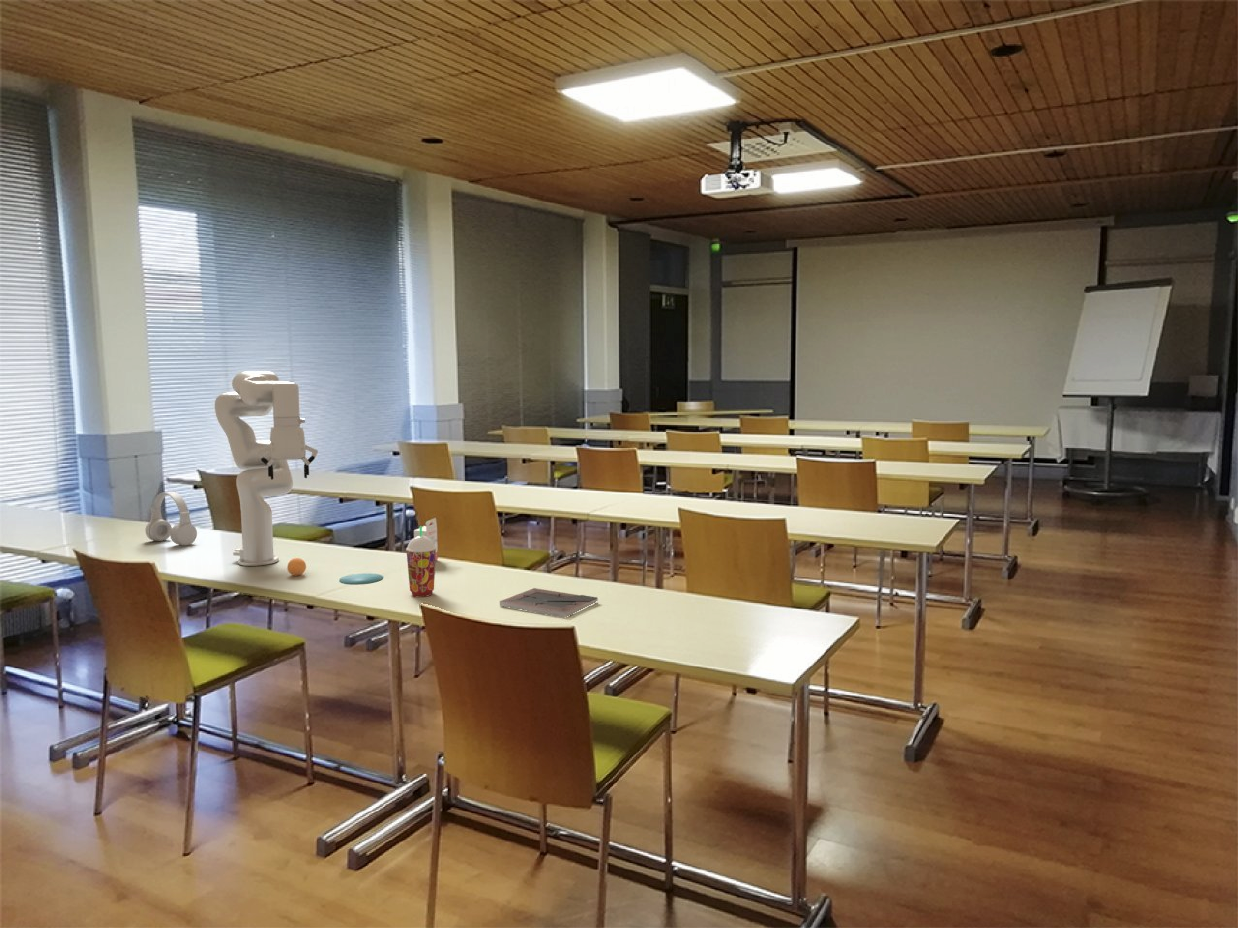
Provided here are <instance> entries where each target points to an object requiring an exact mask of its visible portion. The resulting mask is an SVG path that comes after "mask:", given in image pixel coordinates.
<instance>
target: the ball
mask: <svg viewBox="0 0 1238 928" xmlns="http://www.w3.org/2000/svg"><path fill="white" fill-rule="evenodd" d="M306 564H307V563H306V562H305V560H303V559H302V558H300V557H296V558H292V559H291V560H290V561H289V562H288V563H287V571H288V573H290V575H292V576H293V577H294V576H295V577H296V576H301V575H303V574H304V573H305V571H306V568H307V565H306Z"/></svg>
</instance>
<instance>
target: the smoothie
mask: <svg viewBox="0 0 1238 928" xmlns="http://www.w3.org/2000/svg"><path fill="white" fill-rule="evenodd" d="M422 527H423V526H422V525H420V526H419V528H420V536H417V537H414V536H413V538H412V539H411V540H410V541H409V543H408V544H407V547H406V548H405V550H406V560H407V570H408V571H407V572H408V581H409V582H408V584H409V591H410V592H411V595H412V596H414V597H416V596H424V597H428V596H427V595H429V596H431V595H432V594H433V591H434V590H435V575H436V561H435V555H436V547H435V546H434V543H433V542H432V540H431V539H430V538H428V537H426V536H423V535H422ZM430 594H431V595H430Z"/></svg>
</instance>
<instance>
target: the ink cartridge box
mask: <svg viewBox="0 0 1238 928" xmlns="http://www.w3.org/2000/svg"><path fill="white" fill-rule="evenodd" d="M431 523H432V524H431ZM430 524H431V525H430ZM437 525H438V524H437V518H436V517H434V518H432V519H430V520H429V519H428V520H427V521H426V522H425V525H423V526H422V535H423V536H426V537H428V538H430V539H431V540H432V542H433V543H434V546H435V547H436V555H435V562H436V561H438V559H439V558H438V557H439V555H438V554H439V553H438V551H439V549H438V547H439V546H438V526H437ZM417 536H420V527H419V528H416V529H414V530H413V538H414V537H417Z"/></svg>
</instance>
